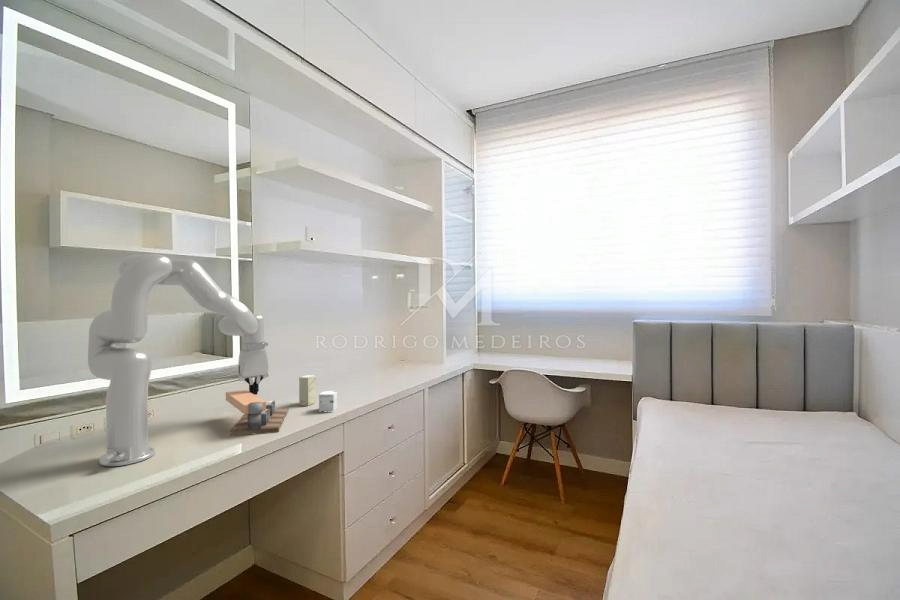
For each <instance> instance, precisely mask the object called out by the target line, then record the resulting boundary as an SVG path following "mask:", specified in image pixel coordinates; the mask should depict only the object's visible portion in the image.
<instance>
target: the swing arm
mask: <svg viewBox="0 0 900 600" xmlns="http://www.w3.org/2000/svg"><path fill="white" fill-rule="evenodd" d="M225 401H226V402H228V403H229V404H230V405H231V406H232V407H234V408H236V410H238V411H239V412H241V413H242V414H243V415H244V414H259V413H262V412H263V411H266V402H265V401H266V400H264V399H262V398H261V397H259V396H257V395H254V394H252V393H250V392H249V390H247V389H241V390H233V391H226V392H225Z"/></svg>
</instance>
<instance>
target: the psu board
mask: <svg viewBox="0 0 900 600" xmlns="http://www.w3.org/2000/svg"><path fill="white" fill-rule="evenodd" d="M264 401H265V402H266V411H263V412H262V413H259V414H243V416H242V417H241V418H240V419H239V420H238V422H236V424H235V425H234V426H233V427H232V429H231V430H230V436H242V435H241V434H245V435H253V434H252V433H258V434H266V433H265V432H271V433H280V431H281V428H282V426H283V424H284V422H285V420H284V419H286V418H285V417H287V415H288V413H289V407H281V408H279V407H278V408H276V400H264ZM283 421H284V422H283Z"/></svg>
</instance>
